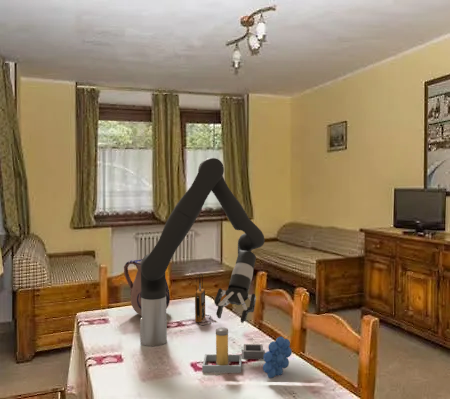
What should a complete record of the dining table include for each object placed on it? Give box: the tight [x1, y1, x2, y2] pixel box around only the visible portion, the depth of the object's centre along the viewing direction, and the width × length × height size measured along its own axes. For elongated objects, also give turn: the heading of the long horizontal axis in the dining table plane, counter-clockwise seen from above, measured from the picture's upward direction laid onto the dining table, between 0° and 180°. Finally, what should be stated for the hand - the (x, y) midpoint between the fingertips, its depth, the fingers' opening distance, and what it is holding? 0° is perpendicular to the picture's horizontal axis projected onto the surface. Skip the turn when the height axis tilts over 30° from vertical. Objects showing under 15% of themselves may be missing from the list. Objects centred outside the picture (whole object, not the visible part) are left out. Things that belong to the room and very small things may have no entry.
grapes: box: [262, 336, 293, 379], centre depth 131 cm, size 12×7×12 cm, turn 128°
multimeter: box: [194, 273, 218, 326], centre depth 185 cm, size 15×10×20 cm
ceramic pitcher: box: [123, 258, 171, 317], centre depth 194 cm, size 18×21×25 cm
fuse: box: [215, 327, 230, 365], centre depth 136 cm, size 4×4×12 cm
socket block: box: [241, 343, 266, 360], centre depth 145 cm, size 8×8×3 cm
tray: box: [201, 353, 242, 374], centre depth 136 cm, size 12×9×3 cm
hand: (230, 319), depth 147 cm, fingers open, 8 cm apart
